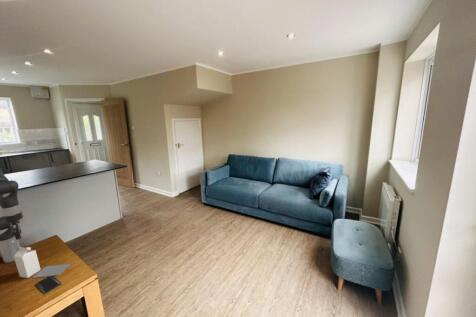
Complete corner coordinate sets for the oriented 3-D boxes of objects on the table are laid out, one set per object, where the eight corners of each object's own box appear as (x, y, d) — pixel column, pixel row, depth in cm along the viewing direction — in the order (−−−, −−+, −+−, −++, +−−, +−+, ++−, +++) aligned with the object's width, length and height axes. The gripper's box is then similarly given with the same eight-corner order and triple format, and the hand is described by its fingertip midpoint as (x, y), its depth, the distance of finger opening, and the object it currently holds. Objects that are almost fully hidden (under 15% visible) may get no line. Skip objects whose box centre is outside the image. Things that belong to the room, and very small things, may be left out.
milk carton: (27, 278, 124) (20, 251, 121) (19, 276, 126) (11, 250, 122) (41, 270, 131) (34, 244, 128) (33, 268, 133) (26, 243, 129)
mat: (32, 278, 124) (32, 277, 124) (46, 266, 134) (45, 266, 134) (59, 275, 125) (58, 274, 125) (70, 264, 135) (70, 263, 135)
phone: (51, 274, 125) (61, 283, 118) (51, 276, 125) (62, 284, 118) (34, 283, 118) (44, 293, 111) (35, 285, 119) (44, 295, 111)
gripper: (4, 211, 122) (10, 234, 125) (1, 219, 112) (9, 243, 115) (21, 207, 127) (27, 229, 130) (21, 214, 117) (27, 238, 121)
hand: (19, 236), depth 123 cm, fingers open, 8 cm apart
